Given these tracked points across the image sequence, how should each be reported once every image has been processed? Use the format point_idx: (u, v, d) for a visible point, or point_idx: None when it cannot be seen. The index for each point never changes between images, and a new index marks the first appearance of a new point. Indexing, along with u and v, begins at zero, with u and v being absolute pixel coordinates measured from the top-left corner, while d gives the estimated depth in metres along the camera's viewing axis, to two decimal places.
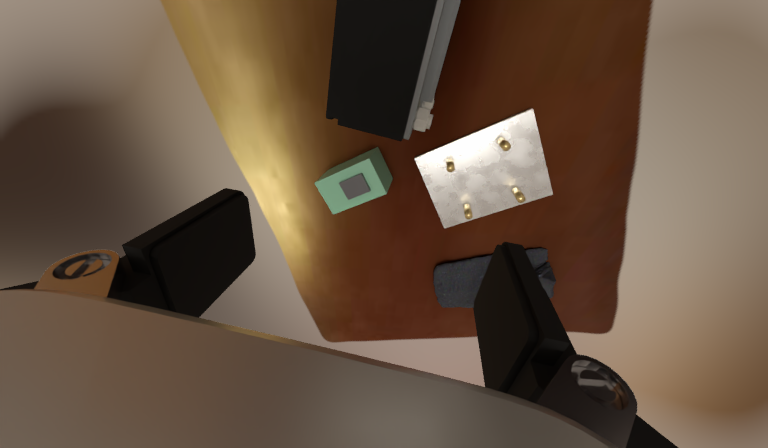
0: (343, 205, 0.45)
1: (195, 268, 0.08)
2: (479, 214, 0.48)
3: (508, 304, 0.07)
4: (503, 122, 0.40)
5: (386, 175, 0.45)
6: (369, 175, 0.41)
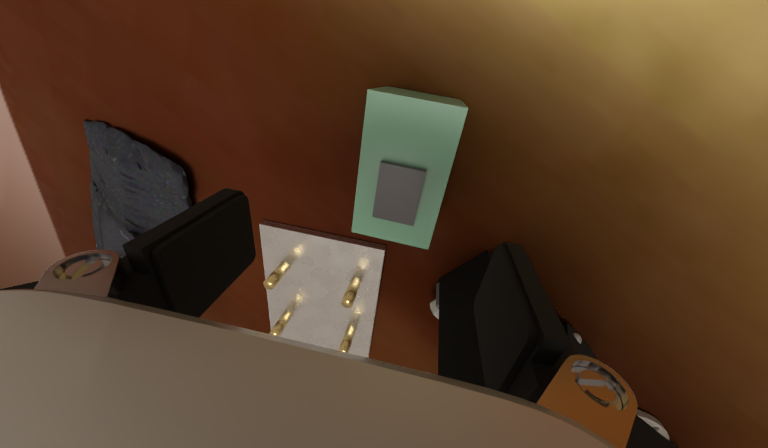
0: (374, 134, 0.17)
1: (195, 268, 0.08)
2: (268, 272, 0.33)
3: (508, 304, 0.07)
4: (369, 338, 0.35)
5: None
6: (400, 229, 0.20)
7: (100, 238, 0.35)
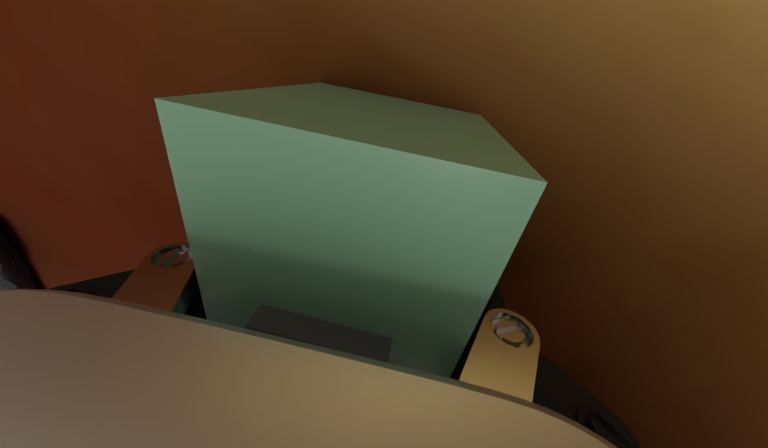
0: (223, 240, 0.05)
1: None
2: None
3: None
4: None
5: None
6: None
7: None
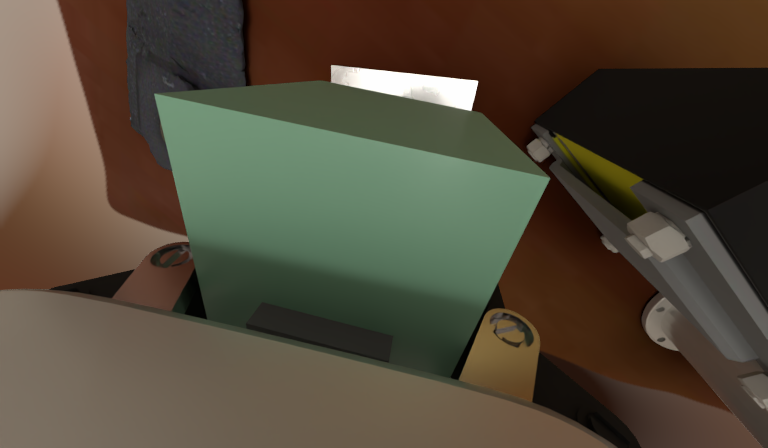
0: (223, 237, 0.05)
1: None
2: None
3: None
4: None
5: None
6: None
7: (136, 104, 0.31)
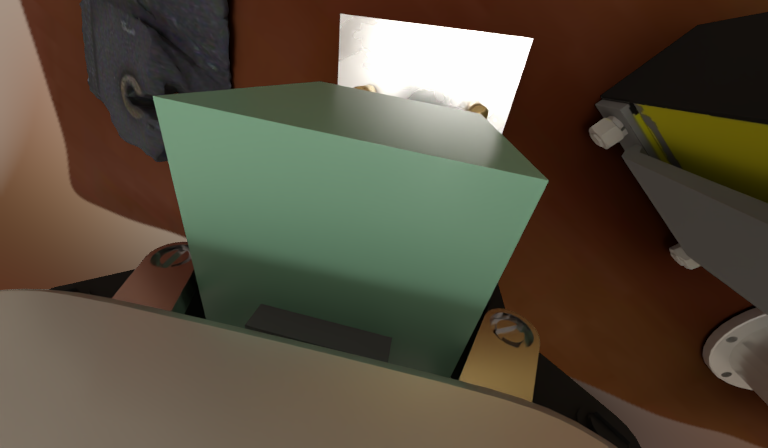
0: (222, 239, 0.05)
1: None
2: None
3: None
4: None
5: None
6: None
7: (93, 60, 0.25)
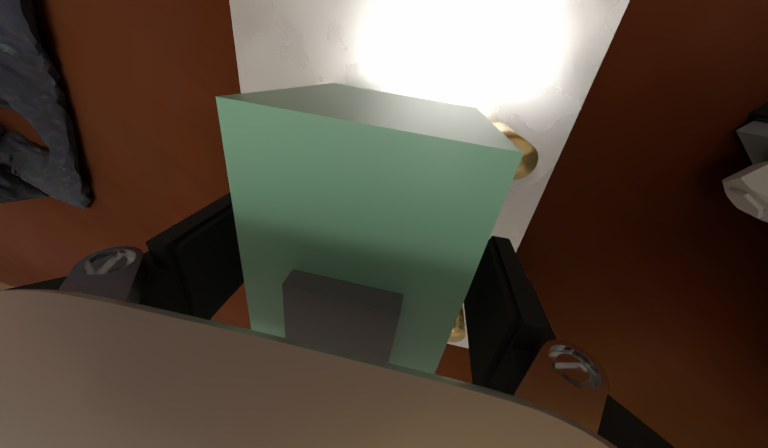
0: (263, 213, 0.07)
1: (213, 265, 0.08)
2: None
3: (493, 294, 0.08)
4: None
5: None
6: None
7: None
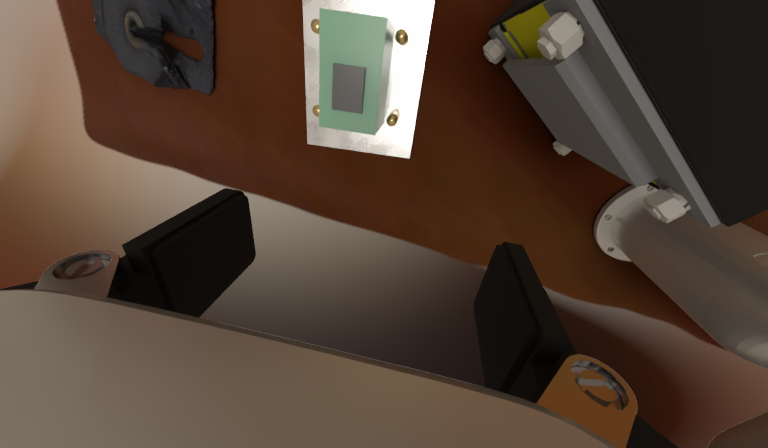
0: (327, 42, 0.25)
1: (195, 268, 0.08)
2: (308, 44, 0.32)
3: (508, 304, 0.07)
4: (413, 127, 0.35)
5: None
6: (353, 120, 0.28)
7: (99, 2, 0.32)
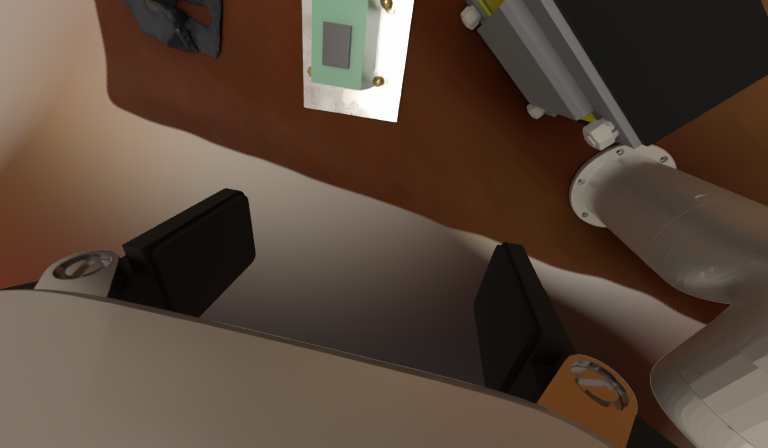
0: (319, 3, 0.29)
1: (195, 268, 0.08)
2: (306, 12, 0.35)
3: (508, 304, 0.07)
4: (399, 91, 0.38)
5: None
6: (341, 76, 0.32)
7: None
